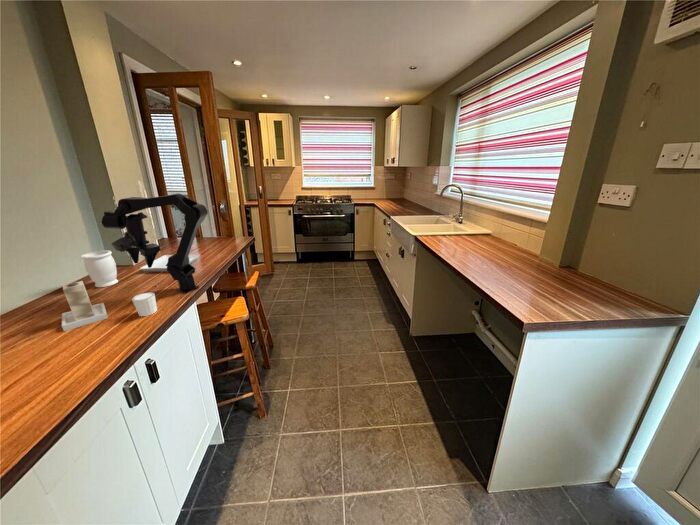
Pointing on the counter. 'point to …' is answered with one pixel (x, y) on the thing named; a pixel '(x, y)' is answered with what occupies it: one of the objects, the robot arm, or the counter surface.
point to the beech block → (78, 300)
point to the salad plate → (165, 263)
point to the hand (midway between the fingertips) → (143, 265)
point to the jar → (101, 267)
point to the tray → (71, 323)
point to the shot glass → (145, 303)
